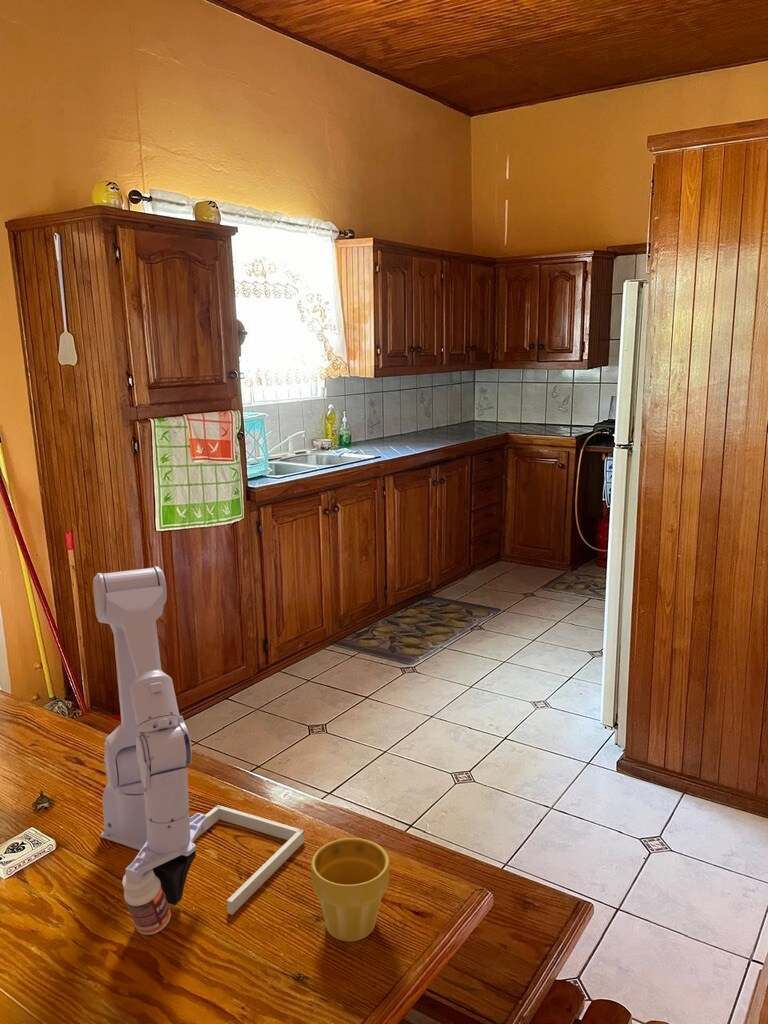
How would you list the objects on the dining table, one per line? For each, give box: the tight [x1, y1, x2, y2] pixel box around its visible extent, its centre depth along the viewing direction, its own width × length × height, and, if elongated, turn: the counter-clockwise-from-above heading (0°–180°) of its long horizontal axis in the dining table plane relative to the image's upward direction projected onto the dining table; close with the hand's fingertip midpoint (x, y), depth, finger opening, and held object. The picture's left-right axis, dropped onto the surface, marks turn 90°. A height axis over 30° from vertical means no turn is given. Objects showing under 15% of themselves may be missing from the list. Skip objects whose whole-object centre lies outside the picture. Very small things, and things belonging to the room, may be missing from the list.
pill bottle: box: [121, 869, 172, 936], centre depth 106 cm, size 5×5×8 cm
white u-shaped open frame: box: [196, 804, 305, 916], centre depth 121 cm, size 17×19×2 cm
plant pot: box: [310, 837, 390, 943], centre depth 106 cm, size 10×10×10 cm
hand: (172, 900), depth 111 cm, fingers closed
